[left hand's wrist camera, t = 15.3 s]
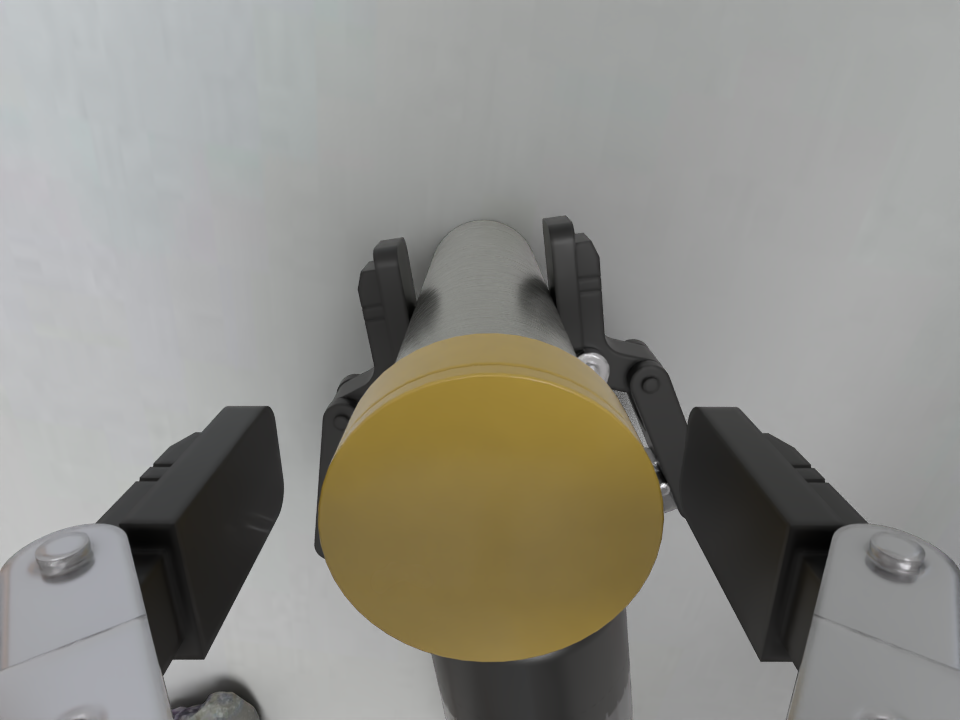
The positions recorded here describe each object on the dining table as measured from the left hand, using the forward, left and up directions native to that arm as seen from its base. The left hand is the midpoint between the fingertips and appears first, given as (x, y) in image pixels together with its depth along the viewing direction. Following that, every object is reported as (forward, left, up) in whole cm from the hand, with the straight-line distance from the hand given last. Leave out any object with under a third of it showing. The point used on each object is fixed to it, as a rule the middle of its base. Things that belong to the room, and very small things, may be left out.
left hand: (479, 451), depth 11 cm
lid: (0, 0, +2) cm, 2 cm away
